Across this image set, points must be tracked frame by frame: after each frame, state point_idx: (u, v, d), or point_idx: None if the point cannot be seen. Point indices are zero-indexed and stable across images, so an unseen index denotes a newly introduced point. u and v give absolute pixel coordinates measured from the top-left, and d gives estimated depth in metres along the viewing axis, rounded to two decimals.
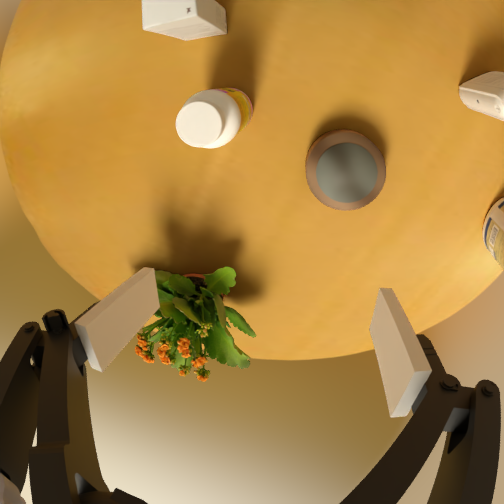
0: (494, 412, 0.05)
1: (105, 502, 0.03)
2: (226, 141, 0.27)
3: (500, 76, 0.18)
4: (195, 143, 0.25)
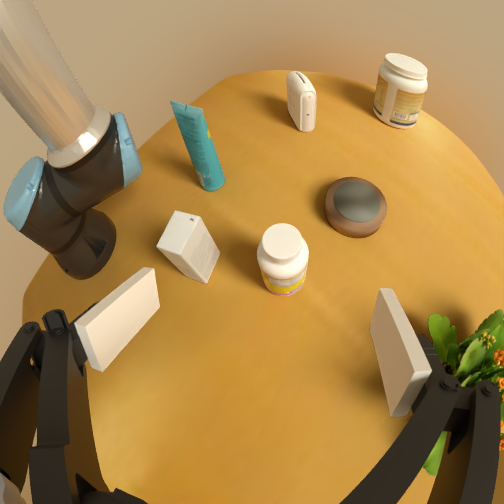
0: (493, 412, 0.05)
1: (105, 502, 0.03)
2: (306, 244, 0.35)
3: (289, 100, 0.55)
4: (296, 248, 0.31)
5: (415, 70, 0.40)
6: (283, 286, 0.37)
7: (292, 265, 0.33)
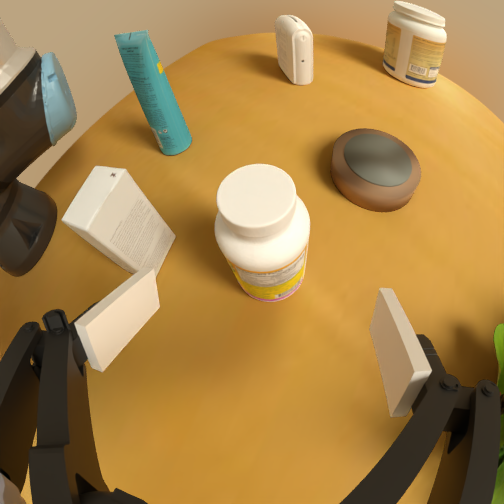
0: (493, 412, 0.05)
1: (105, 502, 0.03)
2: (304, 207, 0.18)
3: (280, 49, 0.39)
4: (285, 206, 0.15)
5: (431, 15, 0.24)
6: (265, 285, 0.21)
7: (279, 243, 0.17)
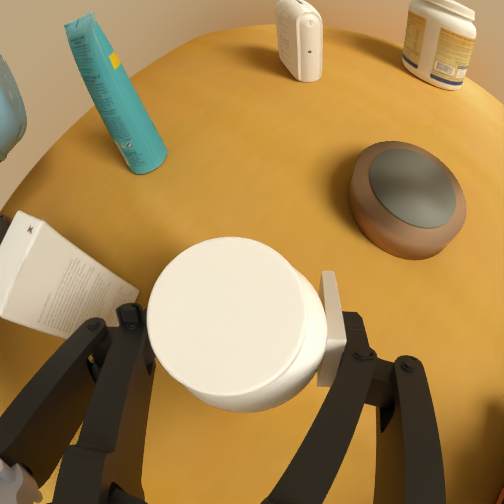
0: (420, 387, 0.07)
1: (105, 502, 0.03)
2: (320, 306, 0.10)
3: (281, 38, 0.31)
4: (282, 353, 0.07)
5: (461, 6, 0.16)
6: None
7: (269, 386, 0.09)
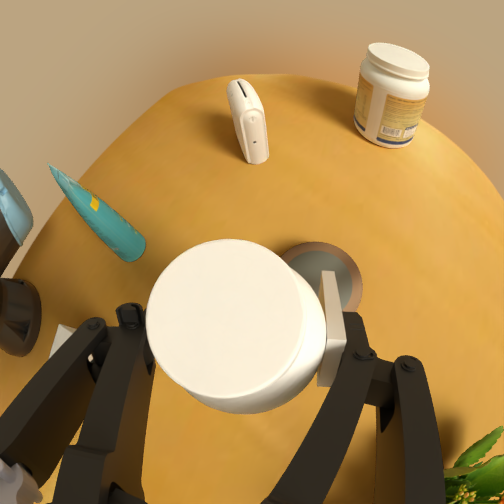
0: (420, 386, 0.07)
1: (105, 502, 0.03)
2: (319, 308, 0.10)
3: (233, 120, 0.41)
4: (281, 356, 0.07)
5: (412, 66, 0.27)
6: None
7: (269, 388, 0.08)
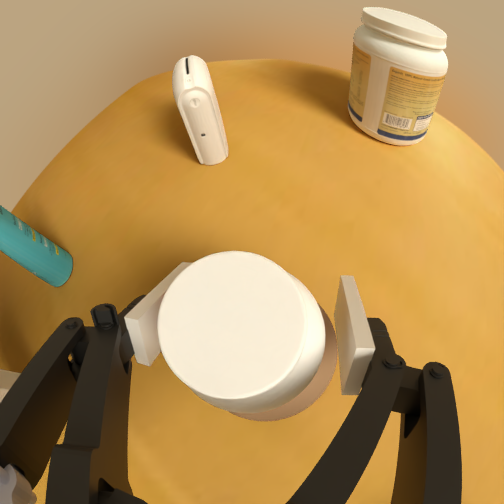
0: (446, 393, 0.06)
1: (105, 502, 0.03)
2: (318, 313, 0.11)
3: None
4: (284, 360, 0.07)
5: (424, 30, 0.16)
6: None
7: (271, 389, 0.09)
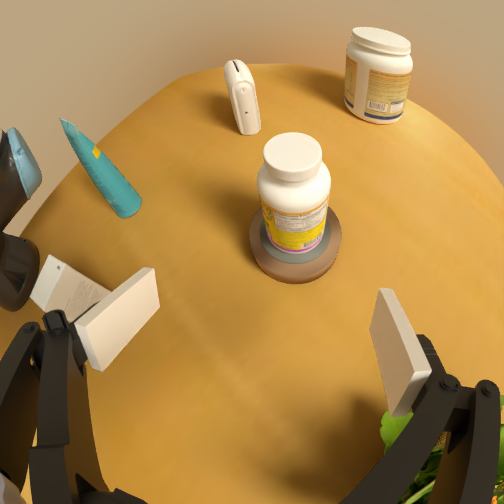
0: (493, 412, 0.05)
1: (105, 502, 0.03)
2: (326, 167, 0.23)
3: None
4: (314, 159, 0.20)
5: (392, 43, 0.29)
6: (295, 230, 0.25)
7: (309, 189, 0.22)
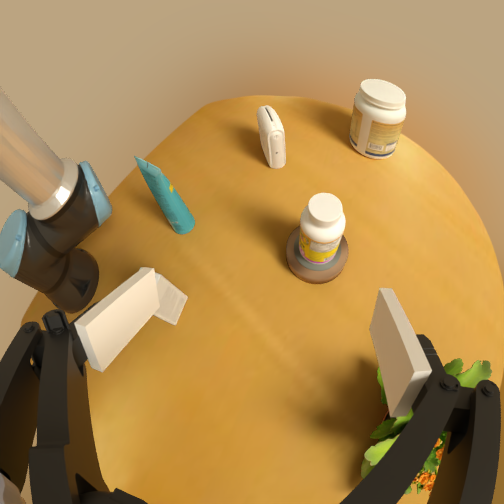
0: (494, 412, 0.05)
1: (105, 502, 0.03)
2: (342, 213, 0.38)
3: (260, 135, 0.58)
4: (338, 213, 0.35)
5: (391, 99, 0.44)
6: (322, 251, 0.40)
7: (333, 229, 0.37)
